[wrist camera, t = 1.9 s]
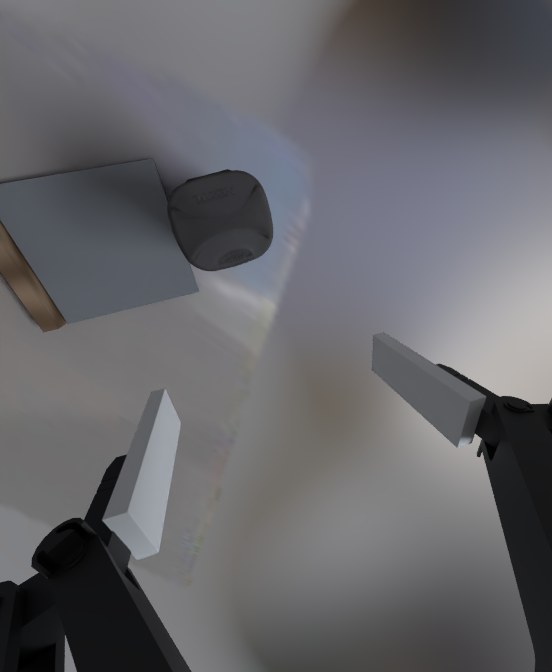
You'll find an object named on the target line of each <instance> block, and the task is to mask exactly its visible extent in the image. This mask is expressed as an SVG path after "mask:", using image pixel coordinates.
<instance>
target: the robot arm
mask: <svg viewBox="0 0 552 672" xmlns="http://www.w3.org/2000/svg"><path fill="white" fill-rule="evenodd" d="M372 353H373V354H372V371H374V372H375V373H376V374H377V375H378V376H379V377H380V378H382V380H384V381H385V382H386V383H387V384H388V385H389V386H390V387H391V388H392V389H393V390H394V391H396V392H397V393H398V394H399V395H400V396H401V397H402V398H403V399H404V400H406V401H407V402H408V403H409V404H410V405H411V406H412V407H413V408H414V409H415V410H417V411H418V412H419V413H420V414H421V415H422V416H423V417H424V418H425V419H426V420H427V421H429V422H430V423H431V424H432V425H433V426H434V427H435V428H436V429H437V430H438V431H439V432H441V433H442V434H443V435H444V436H445V437H446V438H447V439H448V440H449V441H451V442H452V443H453V444H454V445H455V446H456V447H457V448H458V447H462V446H464V445H467V444H470V443H472V441H473V437H474V434H476V435H478V436H479V437H480V438H482V440H481V443H480V446H479V448H478V452H477V457H480V456H481V453H482V452H483V455H484V459H485V463H486V467H487V471H488V474H489V479H490V482H491V486H492V490H493V494H494V498H495V502H496V505H497V509H498V513H499V517H500V521H501V524H502V528H503V532H504V536H505V539H506V544H507V547H508V551H509V555H510V559H511V563H512V566H513V571H514V574H515V578H516V582H517V586H518V590H519V593H520V597H521V601H522V605H523V609H524V612H525V616H526V620H527V624H528V628H529V632H530V636H531V640H532V643H533V648H534V652H535V672H552V399H551V401H550V403H549V404H530V403H528V402H527V401H524V400H522V399H519V398H515V397H511V396H502V397H499V396H497V395H496V394H494V393H492V392H491V391H489V390H487V389H486V388H484V387H482V386H480V385H479V384H477V383H475V382H474V381H472V380H471V379H468V378H467V377H465V376H463V375H461V374H460V373H459V372H457V371H455V370H454V369H452V368H450V367H447V366H444V365H442V364H436V365H435V364H433V363H432V362H430V361H429V360H427V359H425V358H424V357H422V356H421V355H419V354H418V353H416V352H414V351H413V350H411V349H410V348H408V347H406V346H404V345H403V344H401V343H400V342H398V341H397V340H395V339H394V338H392V337H390V336H389V335H387V334H386V333H384V332H383V333H379V334H375V335H373V352H372ZM180 425H181V422H180V420H179V418H178V416H177V414H176V411H175V409H174V407H173V405H172V403H171V400H170V398H169V396H168V394H167V392H166V389H161V390H157V391H154V392H151V394H150V396H149V399H148V402H147V404H146V407H145V410H144V412H143V415H142V417H141V420H140V423H139V425H138V428H137V430H136V433H135V436H134V438H133V441H132V443H131V446H130V449H129V451H128V454H127V455H123V456H120V457H116V458H115V460H114V461H113V462H112V463H111V464H110V466H109V467H108V468H107V469H106V472H105V474H104V476H103V478H102V481H101V484H100V485H99V487H98V490H97V494H95V496H94V499H93V501H92V503H91V505H90V508H89V510H88V512H87V514H86V517H85V519H84V520H82V519H81V518H72V519H70V520H67V521H65V522H63V523H62V524H60V525H59V526H57V527H56V528H54V529H53V530H52V531H51V532H50V533H49V534H48V535H47V536H46V537H45V538H44V539H43V540H42V542H41V543H40V544H39V546H38V547H37V548H36V551H35V553H34V555H33V557H32V566H31V567H33V568H34V569H35V570H37V571H38V572H39V573H38V574H36V575H34V576H33V577H31V578H30V579H28V580H26V581H25V582H23V583H22V584H20V585H17V584H15V583H13V582H12V581H5V582H1V583H0V672H64V658H65V635H66V638H67V641H68V644H69V647H70V650H71V653H72V656H73V660H74V663H75V666H76V670H77V672H191V670H190V669H189V667H188V665H187V664H186V662H185V660H184V659H183V657H182V655H181V654H180V652H179V650H178V648H177V647H176V645H175V643H174V642H173V640H172V638H171V637H170V635H169V633H168V632H167V630H166V629H165V627H164V625H163V623H162V622H161V620H160V618H159V617H158V615H157V613H156V612H155V610H154V608H153V607H152V605H151V603H150V602H149V600H148V598H147V597H146V595H145V593H144V592H143V590H142V588H141V587H140V585H139V583H138V582H137V580H136V578H135V577H134V575H133V573H132V572H131V570H130V569H129V568H128V567H127V566H128V562H129V558H130V555H131V554H132V555H133V556H134V557H135V558H136V559H137V560H139V559H142V558H145V557H148V556H151V555H154V554H157V553H159V548H160V542H161V536H162V530H163V525H164V519H165V513H166V507H167V501H168V495H169V490H170V484H171V478H172V472H173V466H174V460H175V455H176V449H177V443H178V437H179V431H180Z"/></svg>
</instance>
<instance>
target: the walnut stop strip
mask: <svg viewBox="0 0 552 672" xmlns="http://www.w3.org/2000/svg"><path fill="white" fill-rule="evenodd" d="M0 272H1V274H2V275H3V276H4V278H5V279H6V281H7V282H8V283H9V285H10V286H11V287H12V289H13V290H14V292H15V293H16V294H17V296H18V297H19V299H20V300H21V301H22V303H23V304H24V306H25V307H26V308H27V310H28V311H29V313H30V314H31V315H32V317H33V318H34V320H35V321H36V322H37V324H38V325H39V327H40V328H41V329H42V331H43V332H47V331H51V330H55V329H59V328H60V327H62V326H63V325H65V324H66V323H67V322H66V320H65V319H64V317H63V316H62V314H61V312H60V311H59V309H58V308H57V306H56V305H55V303H54V302H53V300H52V299H51V297H50V296H49V294H48V292H47V291H46V289H45V288H44V286H43V285H42V283H41V282H40V280H39V279H38V277H37V276H36V274H35V272H34V271H33V269H32V268H31V266H30V265H29V263H28V262H27V260H26V259H25V257H24V256H23V254H22V253H21V251H20V249H19V248H18V246H17V245H16V243H15V242H14V240H13V239H12V237H11V236H10V234H9V233H8V231H7V229H6V228H5V226H4V225H3V223H2V222H1V220H0Z"/></svg>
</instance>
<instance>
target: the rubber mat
mask: <svg viewBox="0 0 552 672" xmlns="http://www.w3.org/2000/svg"><path fill="white" fill-rule="evenodd" d="M167 205H168V200H167V197H166V194H165V191H164V188H163V185H162V182H161V180H160V177H159V174H158V171H157V168H156V165H155V162H154V160H153V159H146V160H140V161H134V162H128V163H122V164H116V165H110V166H104V167H98V168H92V169H86V170H80V171H74V172H68V173H62V174H56V175H50V176H44V177H38V178H32V179H26V180H20V181H14V182H8V183H2V184H0V220H1V222H2V223H3V225H4V226H5V228H6V229H7V231H8V233H9V234H10V236H11V237H12V239H13V240H14V242H15V243H16V245H17V246H18V248H19V249H20V251H21V252H22V254H23V256H24V257H25V259H26V260H27V262H28V263H29V265H30V266H31V268H32V269H33V271H34V272H35V274H36V276H37V277H38V279H39V280H40V282H41V283H42V285H43V286H44V288H45V289H46V291H47V292H48V294H49V296H50V297H51V299H52V300H53V302H54V303H55V305H56V306H57V308H58V309H59V311H60V312H61V314H62V316H63V317H64V319H65V320H66V322H67V323H68V324H69V323H73V322H77V321H81V320H85V319H90V318H94V317H98V316H102V315H106V314H110V313H114V312H118V311H122V310H126V309H130V308H134V307H138V306H143V305H147V304H151V303H155V302H159V301H163V300H167V299H171V298H175V297H179V296H183V295H187V294H192V293H196V292H199V290H198V287H197V284H196V281H195V278H194V275H193V272H192V269H191V266H190V264H189V261H188V260H187V259H186V258H185V256H184V255H183V253H182V252H181V250H180V248H179V246H178V244H177V242H176V239H175V237H174V234H173V232H172V229H171V226H170V222H169V218H168V213H167Z"/></svg>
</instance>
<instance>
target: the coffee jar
mask: <svg viewBox="0 0 552 672" xmlns="http://www.w3.org/2000/svg"><path fill="white" fill-rule="evenodd" d="M167 213H168V218H169V222H170V226H171V229H172V232H173V234H174V237H175V239H176V242H177V244H178V246H179V248H180V250H181V252H182V253H183V255H184V256H185V258H186V259H187V260H188V261H189V262H190V263H191V264H192V265H193V266H195V267H197V268H199V269H201V270H205V271H217V270H222V269H226V268H230V267H234V266H237V265H240V264H243V263H246V262H248V261H251V260H254V259H256V258H258V257H260V256H262V255H263V254H264V253H265V252H266V251H267V250H268V248H269V247H270V245H271V242H272V239H273V224H272V218H271V212H270V208H269V204H268V201H267V197H266V194H265V192H264V189H263V187H262V186H261V184H260V183H259V181H258V180H257V179H256V178H255V177H254V176H252V175H250V174H249V173H246V172H244V171H238V170H235V171H231V170H228V169H227V170H223V171H220V172H216V173H212V174H208V175H205V176H201V177H196V178H192V179H188V180H187V181H186V182H185V183H184V184H182V185H180V186H179V187H177V188H176V189H175V190H174V191H173V193H172V194H171V196H170V198H169V201H168V205H167Z"/></svg>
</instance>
